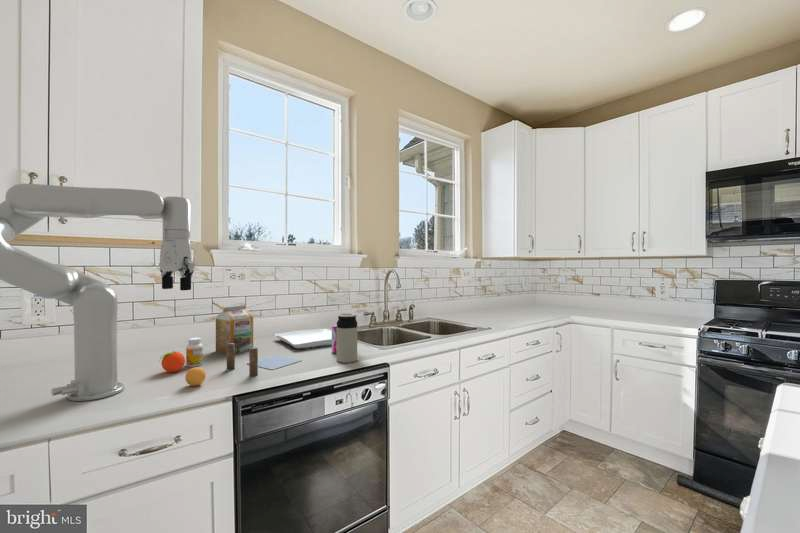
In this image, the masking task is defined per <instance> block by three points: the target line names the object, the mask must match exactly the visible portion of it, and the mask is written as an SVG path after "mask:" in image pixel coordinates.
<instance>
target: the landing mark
mask: <svg viewBox="0 0 800 533" xmlns="http://www.w3.org/2000/svg"><path fill="white" fill-rule="evenodd" d="M302 361H303V360H301V359H297V358H292V357H287V356H282V355H278V354H277V355H272V356H269V357H266V358H262V359H258V368H261V369H265V368H266V370H271V371H274V370H277V369H280V367H281V368H283V367H287V366H290V365H293V363H294V364H297V363H300V362H302ZM296 362H297V363H296ZM246 365H249V362H247V363H246Z"/></svg>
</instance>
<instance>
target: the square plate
mask: <svg viewBox="0 0 800 533" xmlns="http://www.w3.org/2000/svg"><path fill="white" fill-rule="evenodd" d="M274 336H276V338H277V339H279V340H280V341H282V342H285V343H286V344H288V345H290V346H292V347H293V348H294V349H295V348H296V349H301V348H303V349H311V348H310V347H312V348H319V347H325V346H332V329H328V328H315V329H302V330H296V331H288V332H287V331H286V332H280V333H275V334H274ZM318 346H319V347H318Z"/></svg>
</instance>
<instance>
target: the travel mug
mask: <svg viewBox="0 0 800 533" xmlns="http://www.w3.org/2000/svg"><path fill="white" fill-rule="evenodd" d="M336 315H337V317H338V318H337V322H336V325H337V354H336V361H337V362H339V363H343V364H351V363H354V362H356V361H357V360H358V321H357V315H358V314H357V313H355V312H342V313H337V314H336Z"/></svg>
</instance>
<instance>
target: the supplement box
mask: <svg viewBox="0 0 800 533" xmlns="http://www.w3.org/2000/svg"><path fill="white" fill-rule="evenodd" d="M331 330H332V345H331V354H334V355H335V354H336V355H337V324H334V325H333V326H331Z"/></svg>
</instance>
